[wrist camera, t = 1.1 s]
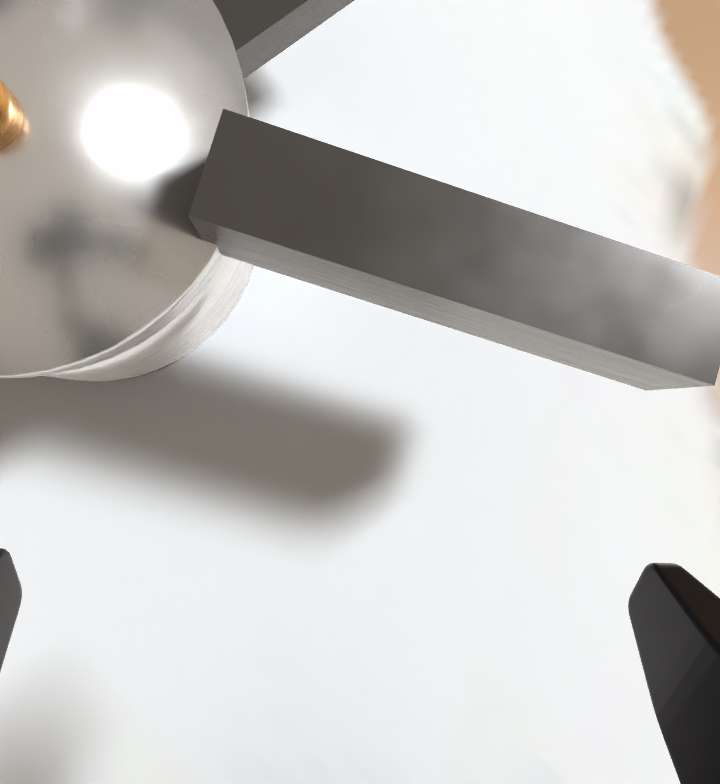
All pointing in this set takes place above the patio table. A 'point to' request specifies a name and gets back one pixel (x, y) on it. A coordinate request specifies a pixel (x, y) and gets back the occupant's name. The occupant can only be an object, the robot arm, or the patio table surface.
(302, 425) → the patio table surface
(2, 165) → the cooker lid
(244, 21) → the cooker pot
